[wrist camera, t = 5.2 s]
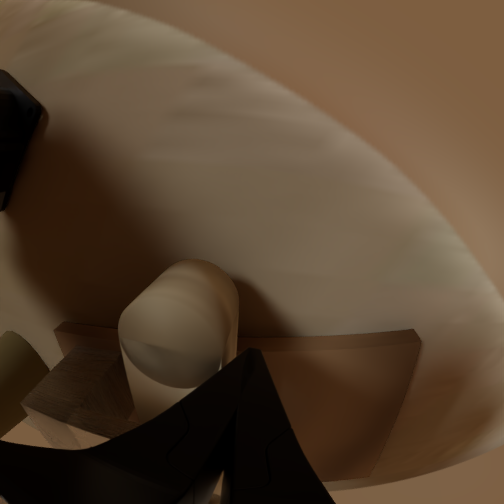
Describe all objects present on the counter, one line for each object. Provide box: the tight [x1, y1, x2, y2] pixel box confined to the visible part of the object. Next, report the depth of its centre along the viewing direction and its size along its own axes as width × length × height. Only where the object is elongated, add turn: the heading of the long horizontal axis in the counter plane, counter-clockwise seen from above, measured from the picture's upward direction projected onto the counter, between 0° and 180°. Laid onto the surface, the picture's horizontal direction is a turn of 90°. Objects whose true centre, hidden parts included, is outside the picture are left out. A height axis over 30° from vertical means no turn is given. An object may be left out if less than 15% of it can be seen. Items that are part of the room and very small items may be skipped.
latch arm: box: [118, 259, 239, 504], centre depth 10 cm, size 15×4×3 cm, turn 176°
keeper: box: [20, 345, 212, 504], centre depth 11 cm, size 9×8×6 cm
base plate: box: [54, 322, 422, 482], centre depth 13 cm, size 18×12×1 cm, turn 93°
